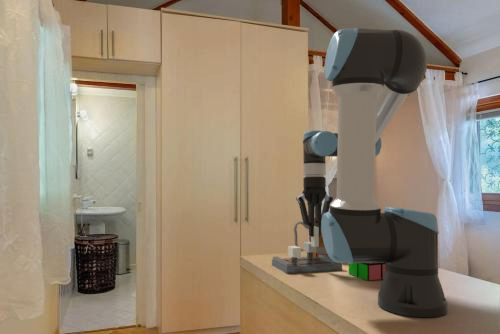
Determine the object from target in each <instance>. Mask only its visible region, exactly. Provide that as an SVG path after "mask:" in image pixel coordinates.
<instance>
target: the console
mask: <svg viewBox="0 0 500 334" xmlns="http://www.w3.org/2000/svg"><path fill="white" fill-rule="evenodd" d="M271 265H272V266H273V267H275V268H276V269H278V270H280V271H282V272H283V273H285V274H286V275H287V274H300V273H303V274H305V273H319V272H320V271H321V272H332V271H334V272H335V271H343V263H337V262H334V261H333V260H331V259H330V257H329V256H327V255H324V254H319V257H312V258H311V259H308V258H307V256H306V257H297V264H292V257H290V258H281V257H279V256H272V259H271Z"/></svg>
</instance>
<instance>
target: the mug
mask: <svg viewBox="0 0 500 334" xmlns="http://www.w3.org/2000/svg"><path fill="white" fill-rule="evenodd" d="M299 225H302V226H303V227H304V228H305V229H307V230H309V227H308V226H307V225H304V224H303V221H300V220H299V221H297V222H296V223H295V224H294V227H293V235H294V246H297V247H299V245H298V231H297V228H298V226H299ZM314 227H316V226H315V217H314ZM308 240H309V241H308V242H311V236H309V235H308ZM301 252H304V251H303V248H301ZM319 254H324V255H327V256H328V254H327V252H326V249H325V246H324V242H323V237H322V229H321V236H319V247H316V252H312V257H319Z"/></svg>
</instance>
